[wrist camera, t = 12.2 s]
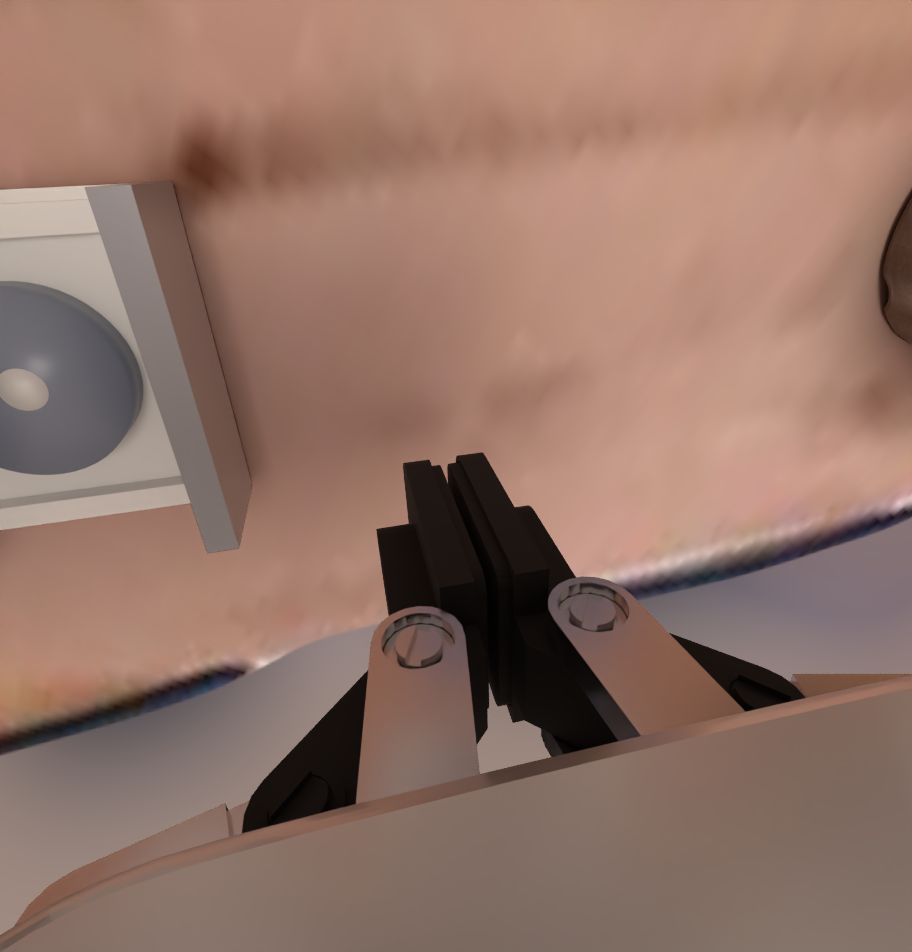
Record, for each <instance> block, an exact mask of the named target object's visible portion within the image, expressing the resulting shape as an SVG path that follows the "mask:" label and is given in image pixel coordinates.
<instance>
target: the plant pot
mask: <svg viewBox="0 0 912 952" xmlns="http://www.w3.org/2000/svg"><path fill="white" fill-rule="evenodd" d="M883 277H884V279H885V281H886V283H887V285H888V289H889V300H888V303H887V304H886V305H885V307H884V313H885V315H886V318H887V320H888V322H889V324H890V326H891V327H892V329H893V330H894V331H895V332H896V333H897V334H898V335H899V336H900V337H901V338H903V339H904V340H906V341H907V342H909V343H911V344H912V198H911V199H910V201H909V203H908V205H907V206H906V208H905V210H904V212H903V214H902V216H901V218H900V220H899V222H898V224H897V226H896V229H895V231H894V234H893V236H892V239H891V242H890V244H889V248H888V251H887V254H886V257H885V262H884V267H883Z"/></svg>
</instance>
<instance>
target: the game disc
mask: <svg viewBox="0 0 912 952" xmlns="http://www.w3.org/2000/svg"><path fill="white" fill-rule="evenodd" d="M142 400H143V382H142V375H141V372H140V368H139V365H138V362H137V360H136V358H135V355H134V353H133V352H132V350H131V348H130V346H129V345H128V343H127V342H126V340H125V339H124V338H123V336H122V335H121V334H120V332H119V331H118V330H117V329H116V328H115V327H114V326H113V325H112V324H111V323H110V322H109V321H108V320H107V319H106V318H105V317H103V316H102V315H101V314H100V313H99V312H97V311H96V310H94V309H93V308H92V307H90V306H89V305H87V304H86V303H84V302H82V301H80V300H78V299H77V298H75V297H73V296H71V295H69V294H66V293H64V292H62V291H59V290H56V289H53V288H50V287H47V286H44V285H39V284H34V283H29V282H19V281H0V468H2V469H6V470H9V471H14V472H19V473H25V474H34V475H56V474H65V473H70V472H75V471H78V470H81V469H84V468H87V467H89V466H91V465H94V464H96V463H98V462H99V461H101V460H102V459H104V458H105V457H107V456H108V455H109V454H110V453H111V452H112V451H113V450H114V449H115V448H116V447H117V446H118V445H119V443H120V442H121V441H122V439H123V438H124V437H125V435H126V434H127V432H128V431H129V430H130V428H131V427H132V426H133V424H134V422H135V420H136V419H137V417H138V414H139V412H140V409H141V405H142Z"/></svg>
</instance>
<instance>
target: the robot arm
mask: <svg viewBox="0 0 912 952" xmlns="http://www.w3.org/2000/svg"><path fill="white" fill-rule="evenodd" d="M403 470H404V481H405V491H406V500H407V510H408V520H409V524H406V525H399V526H393V527H386V528H380V529H376V530H377V537H378V545H379V552H380V559H381V566H382V573H383V580H384V587H385V594H386V601H387V607H388V614H389V617H387V618H386V619H385V620H384V621H382V622H381V623H380V625H379V626H378V627H377V629H376V630H375V632H374V634H373V638H372V641H371V647H370V658H369V668H368V671H367V672H366V673H365V674H364V675H363V676H362V677H361V678H360V679H359V680H358V681H357V682H356V683H355V684H354V685H353V687H352V688H351V689H350V690H349V691H348V692H347V693H346V694H345V695H344V696H343V697H342V698H341V699H340V700H339V701H338V702H337V703H336V704H335V705H334V707H333V708H332V709H331V710H330V711H329V712H328V713H327V714H326V715H325V716H324V717H323V718H322V719H321V720H320V721H319V722H318V724H316V725H315V727H314V728H313V729H312V730H311V731H310V732H309V733H308V734H307V735H306V736H305V737H304V738H303V739H302V740H301V741H300V742H299V743H298V744H297V746H296V747H295V748H294V749H293V750H292V751H291V752H290V753H289V754H288V755H287V756H286V757H285V758H284V759H283V760H282V761H281V762H280V764H279V765H278V766H277V767H276V768H275V769H274V770H273V771H272V772H271V773H270V774H269V775H268V776H267V777H266V778H265V779H264V780H263V782H262V783H261V784H260V786H259V787H258V788H257V790H256V791H255V792H254V794H253V795H252V796H251V799H250V801H247V802H245V803H243V804H241V805H239V806H236V807H234V808H232V809H230V810H228V808H227V806H226V804H225V803H224V804H222V805H220V806H217V807H215V808H213V809H211V810H208V811H206V812H204V813H202V814H200V815H197V816H195V817H193V818H191V819H188V820H186V821H184V822H182V823H179V824H177V825H175V826H173V827H170V828H168V829H166V830H164V831H161V832H159V833H157V834H155V835H152V836H150V837H148V838H146V839H143V840H141V841H139V842H137V843H135V844H132V845H130V846H128V847H126V848H124V849H121V850H119V851H117V852H114V853H112V854H110V855H108V856H105V857H103V858H101V859H99V860H96V861H94V862H92V863H90V864H88V865H86V866H83V867H81V868H79V869H76V870H74V871H72V872H70V873H69V874H67V875H66V876H64V877H62V878H61V879H59V880H58V881H56V882H54V883H52V884H51V885H49V886H48V887H47V888H46V889H45V890H44V891H43V892H42V893H41V894H40V895H39V896H38V897H37V898H36V899H35V900H34V901H33V902H31V903H30V904H29V905H28V907H27V908H26V910H25V911H24V913H23V914H22V916H21V917H20V918H19V920H18V921H17V923H16V924H15V926H14V927H13V928H11V929H9V930H8V931H6V932H5V933H3V934H1V935H0V952H912V674H793V675H792V678H791V681H788V680H786V679H785V678H783V677H782V676H780V675H778V674H776V673H774V672H772V671H770V670H767V669H765V668H763V667H760V666H757V665H755V664H752V663H749V662H746V661H744V660H741V659H738V658H736V657H733V656H730V655H727V654H725V653H722V652H719V651H716V650H714V649H711V648H709V647H706V646H703V645H700V644H698V643H695V642H692V641H690V640H687V639H684V638H681V637H679V636H676V635H673V634H671V633H668V632H667V631H666V630H665V629H664V628H663V627H662V626H661V625H660V624H659V622H658V621H657V620H656V619H655V618H654V617H653V616H652V615H651V614H650V613H648V611H647V610H646V609H645V608H644V607H643V606H642V605H641V604H640V603H639V602H638V601H637V600H636V599H635V598H634V597H633V596H632V595H631V594H630V593H629V592H628V591H626V590H625V589H624V588H622V587H621V586H619V585H617V584H615V583H613V582H611V581H609V580H605V579H600V578H596V577H577V578H576V577H575V575H574V574H573V572H572V570H571V569H570V567H569V566H568V564H567V562H566V561H565V559H564V558H563V556H562V554H561V553H560V551H559V550H558V548H557V546H556V545H555V543H554V542H553V540H552V538H551V537H550V535H549V534H548V532H547V530H546V529H545V527H544V526H543V524H542V522H541V521H540V519H539V518H538V516H537V514H536V513H535V511H534V510H533V509H532V507H531V506H522V507H514V506H513V504H512V502H511V500H510V499H509V497H508V495H507V493H506V492H505V490H504V488H503V486H502V485H501V483H500V481H499V479H498V478H497V476H496V474H495V472H494V471H493V469H492V467H491V465H490V464H489V462H488V460H487V458H486V457H485V455H484V454H483V453H475V454H467V455H460V456H457V457H456V463H451V464H448V483H447V480H446V478H445V475H444V473H443V470H442V468H441V466H440V465H437V466H432V465H431V462H430V460H424V461H416V462H409V463H403ZM489 684H490V687H491V690H492V693H493V696H494V699H495V702H496V704H497V706H502V705H507V707H508V710H509V713H510V716H511V719H512V722H513V723H514V722H518V721H522V720H525V721H527V722H529V723H531V724H533V725H535V726H537V727H539V728H541V737H542V739H543V742H544V745H545V747H546V749H547V750H548V752H549V754H550V756H551V757H550V758H546V759H542V760H538V761H534V762H529V763H525V764H521V765H517V766H513V767H508V768H504V769H500V770H496V771H492V772H487V773H483V774H480V772H479V763H478V753H477V744H478V742H479V741H480V739H481V737H482V736H483V734H484V733H485V731H486V730H487V728H488V725H487V709H488V708H489Z"/></svg>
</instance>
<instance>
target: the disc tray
mask: <svg viewBox="0 0 912 952" xmlns="http://www.w3.org/2000/svg"><path fill="white" fill-rule="evenodd" d="M0 281H19V282H29V283H34V284H39V285H44V286H47V287H50V288H53V289H56V290H59V291H62V292H64V293H66V294H69V295H71V296H73V297H75V298H77V299H78V300H80V301H82V302H84V303H86V304H87V305H89V306H90V307H92V308H93V309H94V310H96V311H97V312H99V313H100V314H101V315H102V316H103V317H105V318H106V319H107V320H108V321H109V322H110V323H111V324H112V325H113V326H114V327H115V328H116V329H117V330H118V331H119V332H120V334H121V335H122V336H123V338H124V339H125V340H126V342H127V343H128V345H129V346H130V348H131V350H132V352H133V353H134V355H135V358H136V360H137V362H138V365H139V368H140V372H141V375H142V382H143V400H142V405H141V409H140V412H139V414H138V417H137V419H136V420H135V422H134V424H133V426H132V427H131V428H130V430H129V431H128V432H127V434H126V435H125V437H124V438H123V439H122V441H121V442H120V443H119V445H118V446H117V447H116V448H115V449H114V450H113V451H112V452H111V453H110V454H109V455H108V456H107V457H105V458H104V459H102V460H101V461H99V462H98V463H96V464H94V465H91V466H89V467H87V468H84V469H81V470H78V471H75V472H70V473H65V474H56V475H34V474H25V473H19V472H14V471H9V470H6V469H2V468H0V530H6V529H13V528H20V527H27V526H34V525H41V524H48V523H55V522H62V521H69V520H76V519H83V518H90V517H97V516H104V515H111V514H119V513H126V512H133V511H140V510H147V509H154V508H161V507H168V506H175V505H182V504H189V503H191V506H192V509H193V512H194V515H195V518H196V521H197V524H198V527H199V530H200V533H201V536H202V539H203V542H204V545H205V548H206V551H207V554H208V553H214V552H220V551H227V550H233V549H239V547H240V542H241V537H242V532H243V527H244V523H245V518H246V513H247V508H248V503H249V499H250V494H251V489H252V483H251V479H250V475H249V471H248V467H247V464H246V460H245V456H244V452H243V449H242V445H241V441H240V437H239V433H238V430H237V426H236V422H235V418H234V414H233V411H232V407H231V403H230V399H229V395H228V392H227V388H226V384H225V380H224V377H223V373H222V369H221V365H220V361H219V358H218V354H217V350H216V346H215V342H214V339H213V335H212V331H211V327H210V324H209V320H208V316H207V312H206V308H205V305H204V301H203V297H202V293H201V289H200V286H199V282H198V278H197V274H196V270H195V267H194V263H193V259H192V255H191V252H190V248H189V244H188V240H187V236H186V233H185V229H184V225H183V221H182V217H181V214H180V210H179V206H178V202H177V199H176V195H175V191H174V187H173V183H172V181H169V182H148V183H127V184H107V185H86V186H66V187H45V188H24V189H4V190H0Z"/></svg>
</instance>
